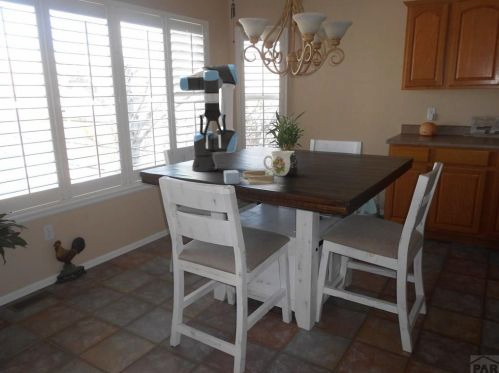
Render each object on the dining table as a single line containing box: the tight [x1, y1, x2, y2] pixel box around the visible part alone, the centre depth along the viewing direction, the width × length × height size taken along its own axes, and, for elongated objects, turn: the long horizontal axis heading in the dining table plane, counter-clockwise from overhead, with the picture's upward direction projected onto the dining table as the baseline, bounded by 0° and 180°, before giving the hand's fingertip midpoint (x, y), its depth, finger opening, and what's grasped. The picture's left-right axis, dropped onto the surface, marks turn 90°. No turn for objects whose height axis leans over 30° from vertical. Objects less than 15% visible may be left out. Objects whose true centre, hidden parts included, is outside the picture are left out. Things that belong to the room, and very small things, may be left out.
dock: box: [242, 169, 275, 185], centre depth 214 cm, size 15×14×4 cm
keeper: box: [223, 169, 240, 185], centre depth 211 cm, size 7×7×6 cm
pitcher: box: [263, 150, 295, 177], centre depth 228 cm, size 11×18×14 cm, turn 76°
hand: (213, 147), depth 206 cm, fingers open, 6 cm apart
